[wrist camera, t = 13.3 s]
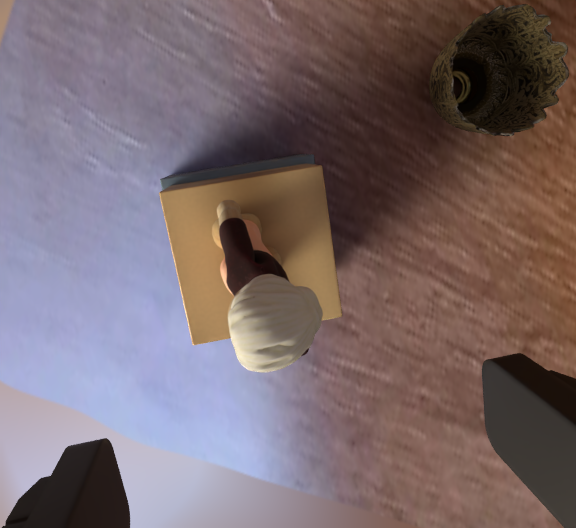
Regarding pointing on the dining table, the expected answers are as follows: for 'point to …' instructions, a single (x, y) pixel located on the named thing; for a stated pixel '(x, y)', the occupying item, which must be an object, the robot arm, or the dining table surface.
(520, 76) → the cup
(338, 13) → the dining table surface
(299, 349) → the grandmother figurine
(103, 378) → the dining table surface
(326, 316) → the top block
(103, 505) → the robot arm
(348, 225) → the dining table surface
